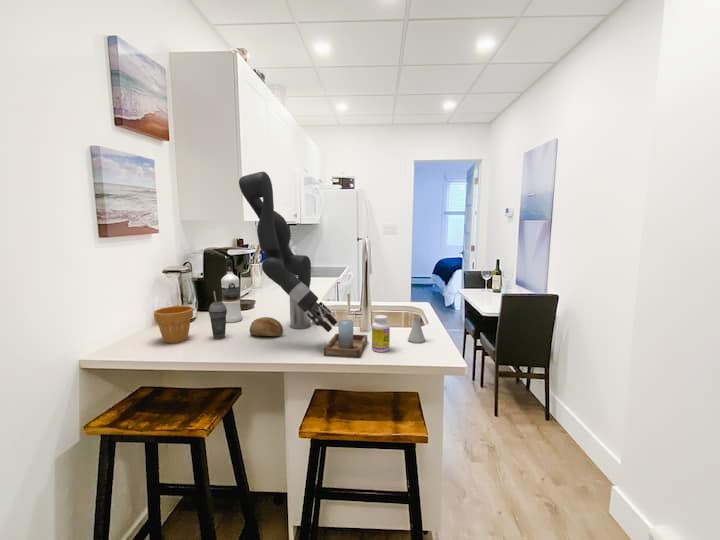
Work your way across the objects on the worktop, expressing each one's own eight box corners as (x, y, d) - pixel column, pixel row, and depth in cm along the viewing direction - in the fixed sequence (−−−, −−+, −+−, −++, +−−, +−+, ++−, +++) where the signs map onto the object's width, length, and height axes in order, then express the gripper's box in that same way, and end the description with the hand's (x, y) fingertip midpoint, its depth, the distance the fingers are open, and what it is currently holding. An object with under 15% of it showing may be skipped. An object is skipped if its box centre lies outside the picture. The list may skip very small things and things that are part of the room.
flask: (427, 339, 150) (428, 315, 148) (422, 344, 143) (423, 319, 142) (410, 337, 153) (410, 313, 151) (405, 342, 146) (405, 318, 145)
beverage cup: (222, 340, 149) (219, 293, 146) (206, 339, 150) (203, 292, 148) (231, 335, 156) (229, 289, 154) (216, 334, 158) (213, 289, 155)
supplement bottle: (384, 353, 133) (384, 319, 131) (368, 350, 137) (368, 317, 135) (392, 348, 139) (392, 315, 137) (377, 345, 142) (377, 313, 141)
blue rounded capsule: (340, 344, 141) (340, 319, 140) (354, 345, 140) (354, 320, 139) (336, 349, 136) (336, 323, 134) (351, 350, 135) (351, 324, 133)
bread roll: (277, 340, 150) (276, 321, 149) (244, 338, 153) (243, 319, 152) (286, 333, 159) (286, 315, 158) (255, 331, 162) (254, 314, 161)
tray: (336, 340, 149) (336, 333, 149) (367, 341, 147) (367, 335, 146) (323, 355, 131) (323, 348, 131) (358, 358, 129) (358, 350, 129)
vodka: (241, 317, 186) (238, 259, 182) (242, 322, 177) (239, 261, 174) (222, 319, 183) (219, 259, 179) (222, 323, 174) (218, 261, 171)
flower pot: (200, 339, 151) (198, 309, 149) (163, 348, 140) (161, 315, 139) (186, 332, 160) (184, 304, 159) (151, 340, 150) (148, 309, 148)
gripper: (303, 294, 131) (335, 326, 131) (315, 286, 145) (343, 315, 145) (290, 307, 133) (321, 339, 132) (302, 299, 147) (331, 328, 146)
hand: (333, 327), depth 139 cm, fingers open, 8 cm apart
